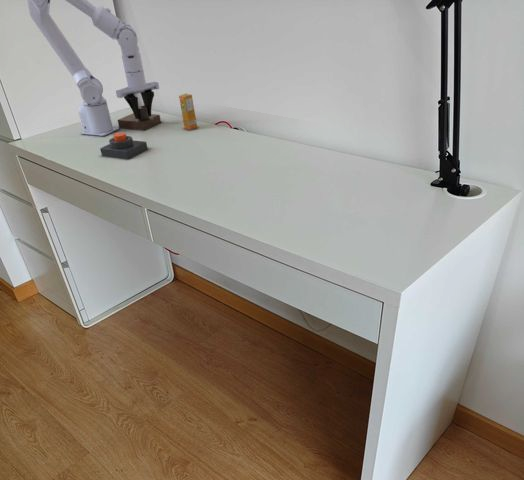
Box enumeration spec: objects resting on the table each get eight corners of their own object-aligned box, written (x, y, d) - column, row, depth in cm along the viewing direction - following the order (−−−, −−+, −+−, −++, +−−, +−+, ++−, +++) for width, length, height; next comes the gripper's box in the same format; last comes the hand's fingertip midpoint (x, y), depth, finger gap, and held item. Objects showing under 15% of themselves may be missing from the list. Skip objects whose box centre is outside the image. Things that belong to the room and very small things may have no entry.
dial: (141, 120, 164) (138, 108, 161) (136, 118, 166) (133, 106, 163) (151, 118, 165) (148, 105, 163) (146, 116, 167) (143, 104, 165)
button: (112, 142, 144) (110, 135, 143) (120, 138, 146) (118, 132, 145) (121, 143, 142) (120, 136, 141) (129, 139, 145) (128, 132, 144)
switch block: (101, 156, 146) (98, 141, 143) (121, 146, 152) (118, 132, 149) (128, 159, 142) (125, 144, 139) (147, 149, 148) (144, 135, 145)
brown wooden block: (118, 128, 168) (116, 119, 166) (135, 120, 174) (134, 112, 172) (147, 130, 163) (145, 122, 161) (164, 122, 169) (162, 114, 168)
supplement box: (183, 128, 162) (177, 95, 156) (191, 126, 164) (186, 92, 157) (189, 130, 160) (184, 96, 154) (197, 128, 162) (193, 94, 155)
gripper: (147, 65, 162) (156, 110, 171) (107, 74, 156) (118, 120, 164) (158, 67, 158) (166, 113, 167) (117, 76, 151) (128, 123, 160)
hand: (143, 117), depth 165 cm, fingers closed on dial, 3 cm apart
